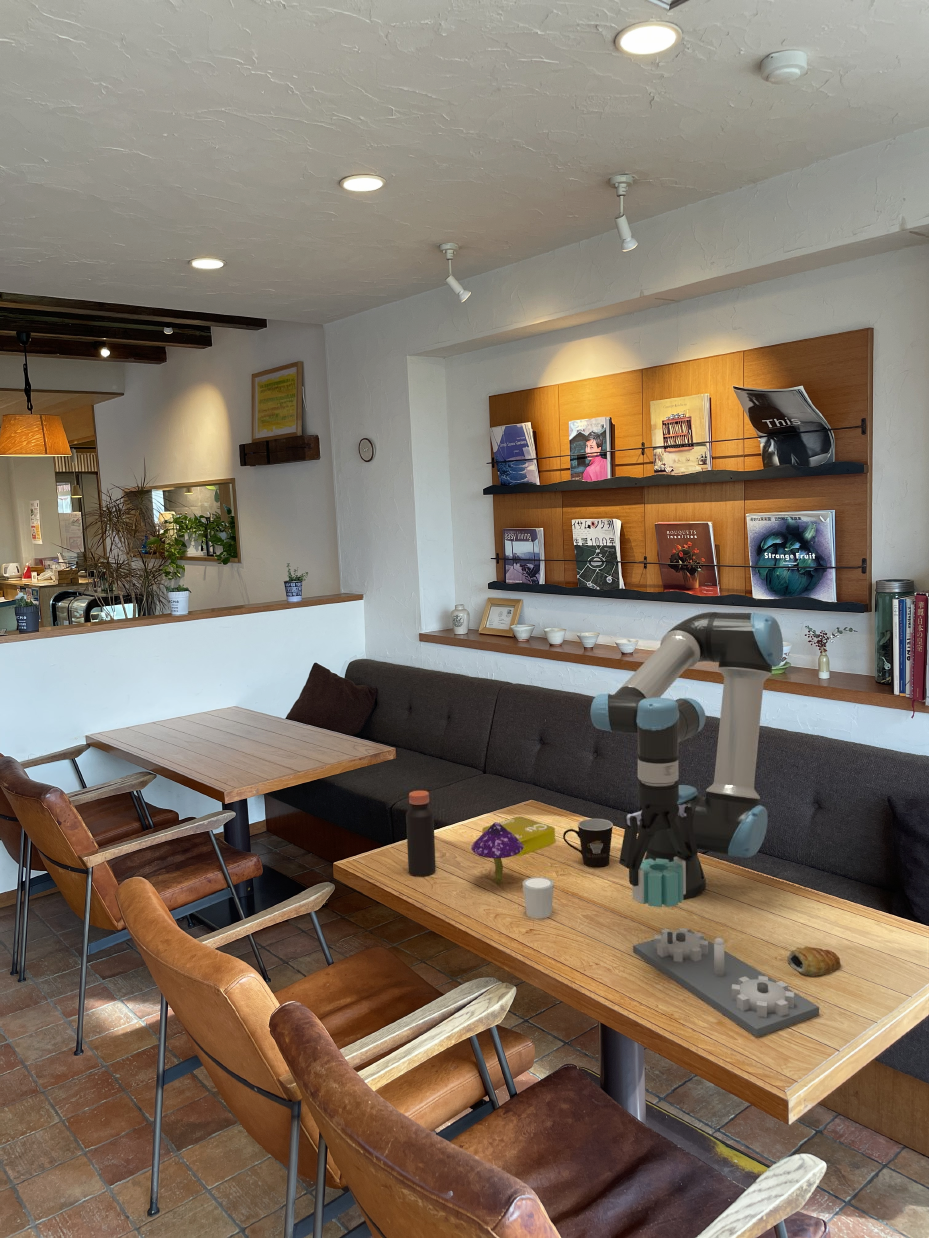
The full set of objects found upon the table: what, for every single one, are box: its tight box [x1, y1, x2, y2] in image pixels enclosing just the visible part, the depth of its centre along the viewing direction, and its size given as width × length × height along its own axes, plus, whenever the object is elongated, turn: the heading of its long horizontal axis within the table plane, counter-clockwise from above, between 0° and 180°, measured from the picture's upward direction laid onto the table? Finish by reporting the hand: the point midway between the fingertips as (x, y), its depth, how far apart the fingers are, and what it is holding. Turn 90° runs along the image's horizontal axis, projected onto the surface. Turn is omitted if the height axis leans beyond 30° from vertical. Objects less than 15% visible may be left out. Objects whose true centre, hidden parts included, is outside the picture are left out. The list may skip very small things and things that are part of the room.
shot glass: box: [521, 876, 555, 920], centre depth 200 cm, size 7×7×7 cm
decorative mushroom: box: [470, 821, 524, 884], centre depth 216 cm, size 12×12×15 cm
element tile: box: [481, 816, 556, 857], centre depth 244 cm, size 15×15×5 cm
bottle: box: [405, 790, 437, 877], centre depth 225 cm, size 7×7×20 cm
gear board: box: [632, 927, 820, 1038], centre depth 168 cm, size 14×34×8 cm, turn 26°
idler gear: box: [640, 859, 684, 908], centre depth 173 cm, size 9×9×6 cm
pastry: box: [786, 945, 841, 977], centre depth 172 cm, size 9×7×4 cm
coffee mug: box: [562, 818, 614, 869], centre depth 228 cm, size 12×9×10 cm
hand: (659, 896), depth 174 cm, fingers closed on idler gear, 9 cm apart
